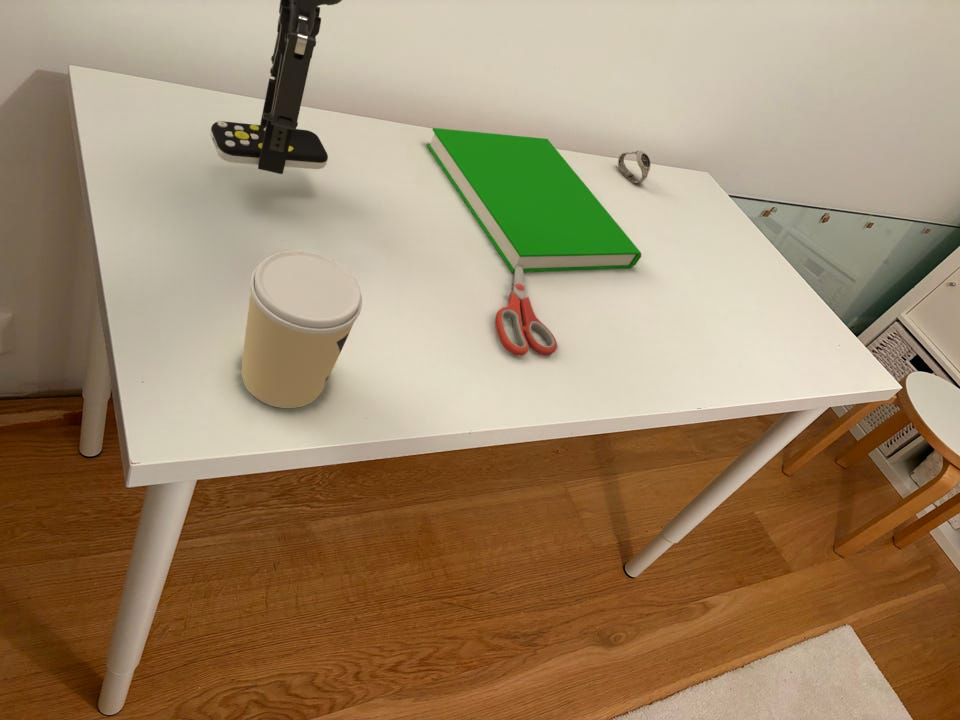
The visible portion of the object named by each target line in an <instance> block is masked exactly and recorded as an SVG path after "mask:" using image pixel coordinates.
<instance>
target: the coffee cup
mask: <svg viewBox="0 0 960 720" xmlns="http://www.w3.org/2000/svg"><path fill="white" fill-rule="evenodd" d="M249 283H250V285H249V289H250V296H249V300H248V301H249V302H248V309H247V316H246V325H245V333H244V342H243V350H242V359H241V379H242V381H243V384H244V386H245V388H246V389H247V391H248V392H249V394H251V395H252V396H253V397H254V398H255V399H257V400H258V401H260V402H262V403H263V404H265V405H268V406H271V407H275V408H279V409H296V408H302V407H305V406H307V405H309V404H311V403H312V402H314V401H315V400H317V398H319V396H320V395H321V393H322V392H323V391H324V388H325V386H326V385H327V382H328V380H329V378H330V376H331V375H332V374H331V373H332V372H333V370H334V367H335V365H336V363H337V361H338V359H339V357H340V355H341V352H342V350H343V348H344V346H345V343H346V341H347V339H348V337H349V336H350V333H351V331H352V328H353V326H354V323H355V322H356V320H358V317H359V316H360V313H361V310H362V306H363V297H362V296H363V295H362V292H361V288H360V285H359V283H358V281H357V279H356V278H355V276H354V275H353V273H351V272H350V271H349V270H348V269H347V267H345V266H344V265H342V264H341V263H339V262H338V261H336V260H334V259H333V258H330V257H329V256H326V255H324V254H321V253H317V252H314V251H308V250H301V249H300V250H298V249H290V250H283V251H279V252H276V253H273V254H271V255H269V256H267V257H266V258H265V259H264V260H262V261H261V262H260V263H259V264H258V265H257V266H256V267H255V269H254V270H253V272H252V274H251V277H250V282H249Z"/></svg>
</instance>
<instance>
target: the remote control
mask: <svg viewBox="0 0 960 720" xmlns="http://www.w3.org/2000/svg"><path fill="white" fill-rule="evenodd" d="M265 130H266V126H263V125H260V124H252V123H244V122H243V123H242V122H234V121H225V120H224V121H223V120H220V121H216V122H214V123H213V124H212V125H211V128H210V132H209V133H210V138H211V141H212V143H213V146H214V149H215V151H216V154H217V155H218V157H219V158H220V159H221V160H223V161H225V162H227V163H231V164H242V165H255V166H258V164H259V159H260V154H261V149H262V144H263V139H264V135H265ZM328 159H329V155H328V152H327V151H326V148H325V147H324V145H323V143H322V141H321V139H320V137H319V136H318V135H317V134H316V133H315V132H313V131H311V130H307V129H300V128H296V129H295V130H293V132H292V136H291V140H290V145H289V149H288V153H287V158H286V162H285V166H284V168H294V169H295V168H298V169H308V170H309V169H310V170H321V169H323V168H325V167H326V166H327V163H328Z"/></svg>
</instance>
